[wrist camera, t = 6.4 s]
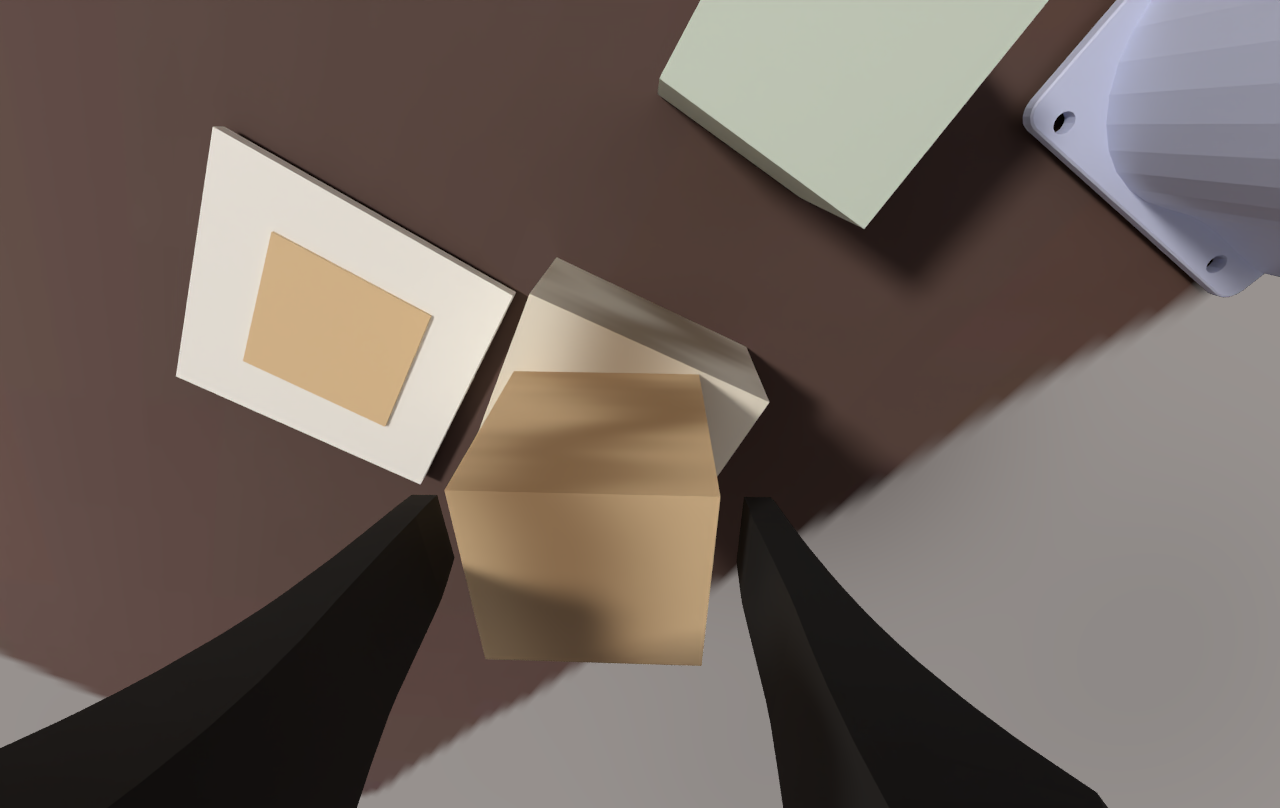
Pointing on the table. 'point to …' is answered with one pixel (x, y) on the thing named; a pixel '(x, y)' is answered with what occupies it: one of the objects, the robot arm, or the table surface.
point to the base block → (633, 348)
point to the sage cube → (837, 85)
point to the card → (330, 312)
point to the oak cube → (590, 519)
